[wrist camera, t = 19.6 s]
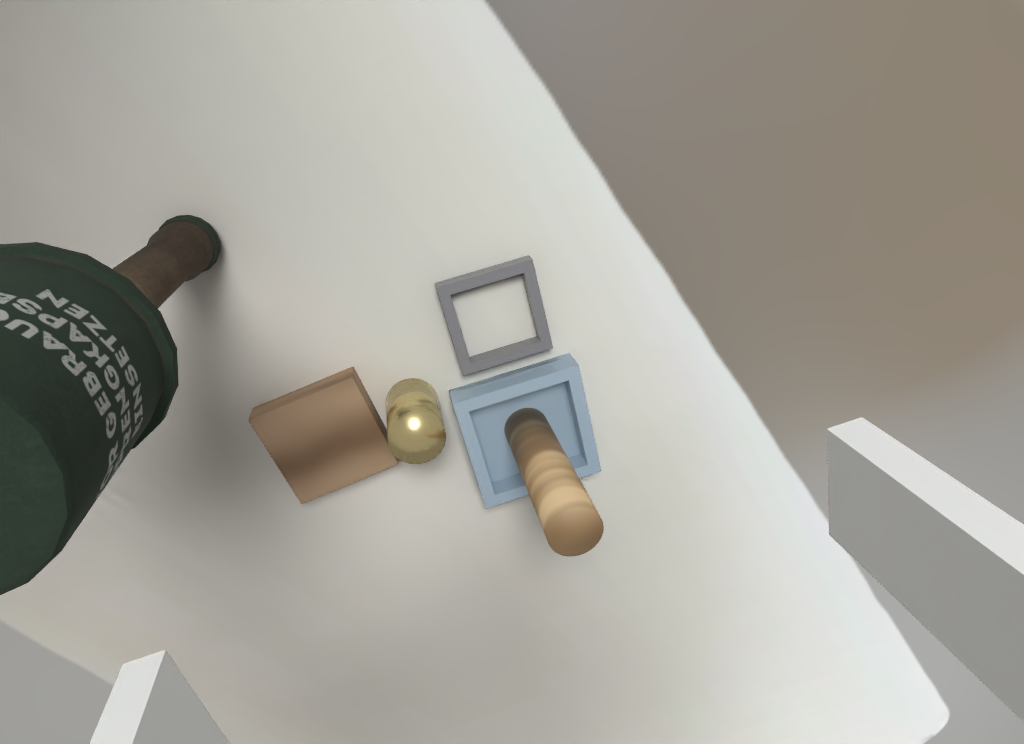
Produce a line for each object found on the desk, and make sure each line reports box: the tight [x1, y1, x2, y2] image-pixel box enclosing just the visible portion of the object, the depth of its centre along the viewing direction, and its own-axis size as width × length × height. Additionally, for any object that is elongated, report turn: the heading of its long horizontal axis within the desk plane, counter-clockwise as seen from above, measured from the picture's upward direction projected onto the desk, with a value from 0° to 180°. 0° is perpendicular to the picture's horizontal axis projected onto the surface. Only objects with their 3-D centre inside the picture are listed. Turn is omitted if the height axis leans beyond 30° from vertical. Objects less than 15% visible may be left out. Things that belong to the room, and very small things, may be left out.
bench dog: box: [386, 379, 446, 464], centre depth 48 cm, size 4×4×6 cm
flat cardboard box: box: [249, 367, 398, 504], centre depth 49 cm, size 8×8×2 cm
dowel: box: [504, 408, 603, 556], centre depth 46 cm, size 4×4×14 cm
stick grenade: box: [0, 215, 220, 595], centre depth 29 cm, size 8×9×30 cm
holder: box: [435, 256, 553, 376], centre depth 48 cm, size 7×7×1 cm
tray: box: [449, 353, 601, 509], centre depth 52 cm, size 10×10×2 cm
